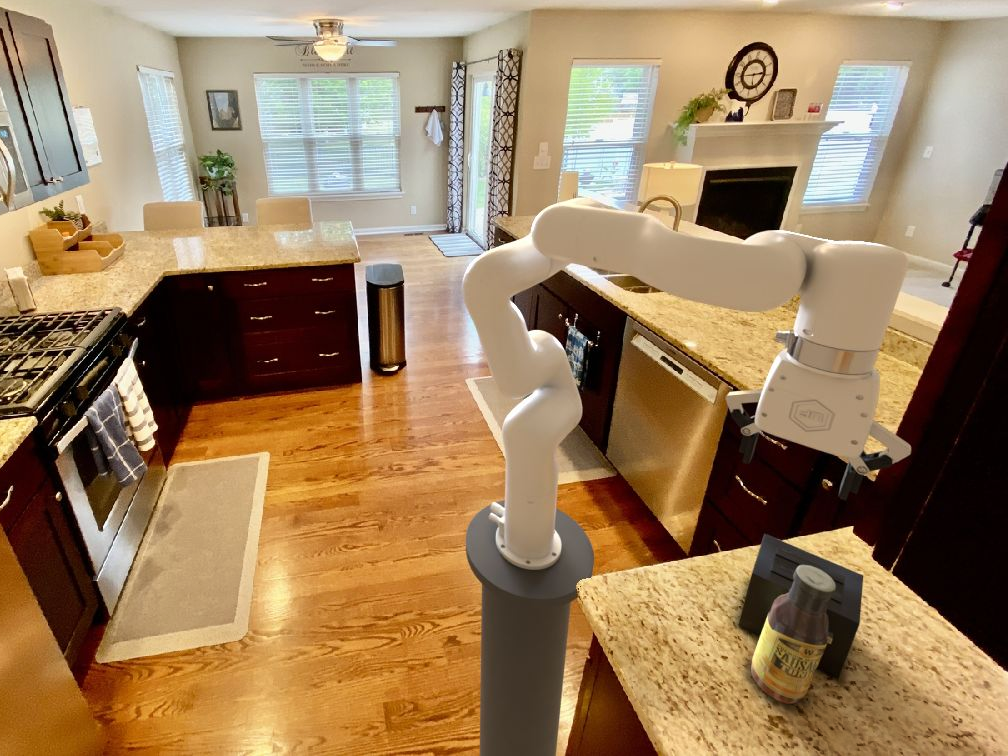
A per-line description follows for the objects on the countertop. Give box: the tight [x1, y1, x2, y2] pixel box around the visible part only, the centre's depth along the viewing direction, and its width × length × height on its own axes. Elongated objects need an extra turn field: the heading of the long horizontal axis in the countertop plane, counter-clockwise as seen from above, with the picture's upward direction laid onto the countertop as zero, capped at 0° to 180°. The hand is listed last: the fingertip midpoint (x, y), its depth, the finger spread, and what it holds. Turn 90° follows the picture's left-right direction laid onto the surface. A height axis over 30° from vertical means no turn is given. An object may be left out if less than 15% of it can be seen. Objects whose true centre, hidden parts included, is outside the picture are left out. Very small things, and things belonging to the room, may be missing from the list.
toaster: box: [737, 533, 864, 681], centre depth 73 cm, size 12×11×11 cm
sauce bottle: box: [750, 565, 836, 705], centre depth 64 cm, size 6×6×20 cm
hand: (793, 474), depth 61 cm, fingers open, 9 cm apart
